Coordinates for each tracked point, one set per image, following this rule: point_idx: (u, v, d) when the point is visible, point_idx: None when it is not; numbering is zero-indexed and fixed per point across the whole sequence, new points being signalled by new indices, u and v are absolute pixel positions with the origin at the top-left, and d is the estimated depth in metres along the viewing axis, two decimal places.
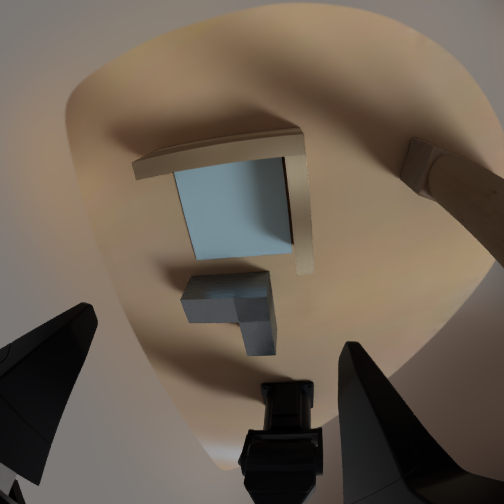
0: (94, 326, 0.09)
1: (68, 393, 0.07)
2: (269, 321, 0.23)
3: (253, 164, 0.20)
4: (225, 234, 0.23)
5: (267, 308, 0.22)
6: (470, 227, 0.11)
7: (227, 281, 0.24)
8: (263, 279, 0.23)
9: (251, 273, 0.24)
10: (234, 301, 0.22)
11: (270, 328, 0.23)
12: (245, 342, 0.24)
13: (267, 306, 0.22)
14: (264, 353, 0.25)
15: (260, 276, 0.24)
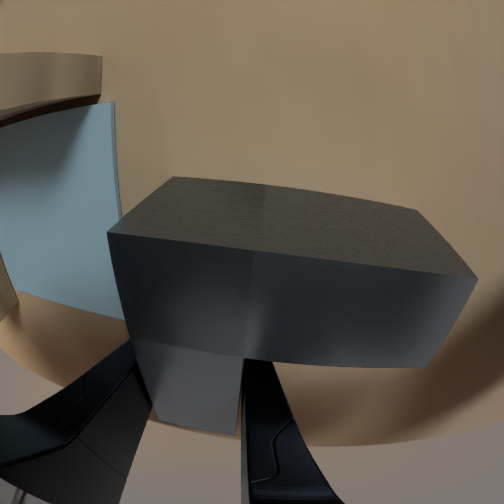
0: None
1: (145, 421, 0.07)
2: (255, 255, 0.04)
3: None
4: (76, 252, 0.09)
5: (167, 244, 0.05)
6: None
7: None
8: None
9: None
10: (142, 336, 0.06)
11: (306, 262, 0.04)
12: (358, 363, 0.06)
13: (158, 240, 0.05)
14: (447, 317, 0.05)
15: None
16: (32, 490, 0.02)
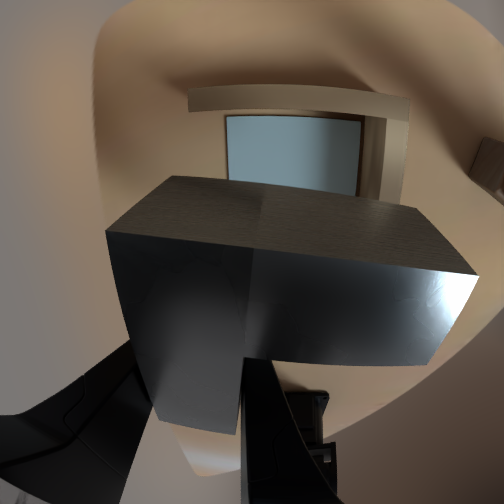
0: None
1: (145, 421, 0.07)
2: (254, 253, 0.04)
3: (328, 128, 0.15)
4: None
5: (166, 242, 0.05)
6: None
7: None
8: None
9: None
10: (141, 336, 0.06)
11: (306, 259, 0.04)
12: (359, 362, 0.06)
13: (158, 239, 0.05)
14: (448, 314, 0.05)
15: None
16: (33, 490, 0.02)
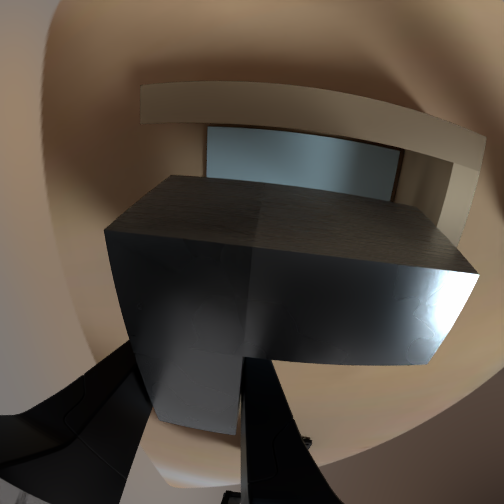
0: None
1: (145, 421, 0.07)
2: (253, 251, 0.04)
3: (353, 155, 0.11)
4: None
5: (165, 241, 0.04)
6: None
7: None
8: None
9: None
10: (141, 335, 0.06)
11: (305, 258, 0.04)
12: (359, 361, 0.06)
13: (156, 238, 0.05)
14: (448, 313, 0.05)
15: None
16: (32, 490, 0.02)
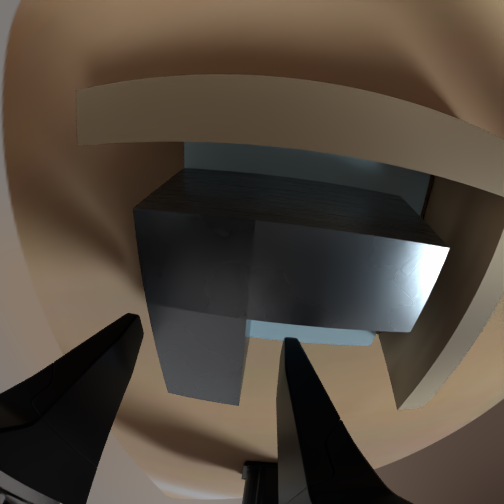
0: (140, 338, 0.09)
1: (115, 411, 0.07)
2: (256, 224, 0.06)
3: (375, 176, 0.08)
4: None
5: (185, 216, 0.06)
6: None
7: None
8: None
9: None
10: (158, 303, 0.07)
11: (297, 229, 0.06)
12: (347, 325, 0.07)
13: (178, 214, 0.06)
14: (424, 282, 0.06)
15: None
16: None
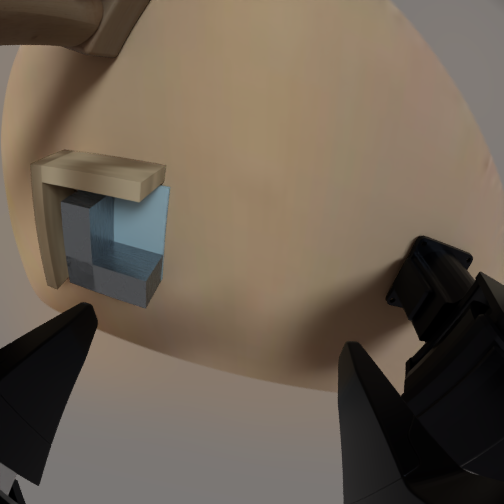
0: (94, 326, 0.09)
1: (68, 393, 0.07)
2: (66, 255, 0.18)
3: None
4: (138, 243, 0.21)
5: (68, 270, 0.19)
6: (22, 36, 0.06)
7: None
8: None
9: None
10: (94, 287, 0.19)
11: (65, 246, 0.18)
12: (88, 233, 0.17)
13: (69, 271, 0.19)
14: (71, 208, 0.16)
15: None
16: None
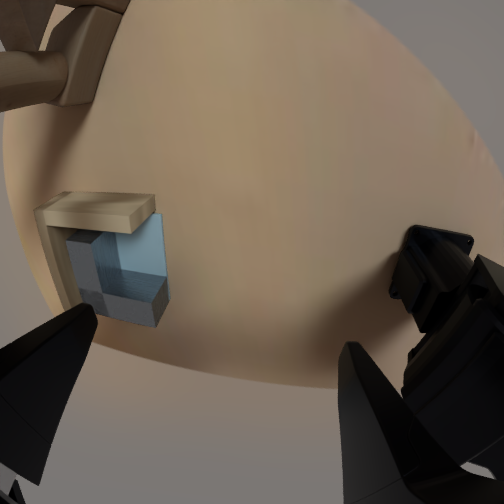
0: (94, 326, 0.09)
1: (68, 393, 0.07)
2: (78, 287, 0.20)
3: None
4: (142, 268, 0.23)
5: (82, 300, 0.21)
6: None
7: None
8: None
9: None
10: (108, 313, 0.21)
11: (76, 279, 0.20)
12: (94, 266, 0.19)
13: (83, 301, 0.21)
14: (75, 245, 0.18)
15: None
16: None
